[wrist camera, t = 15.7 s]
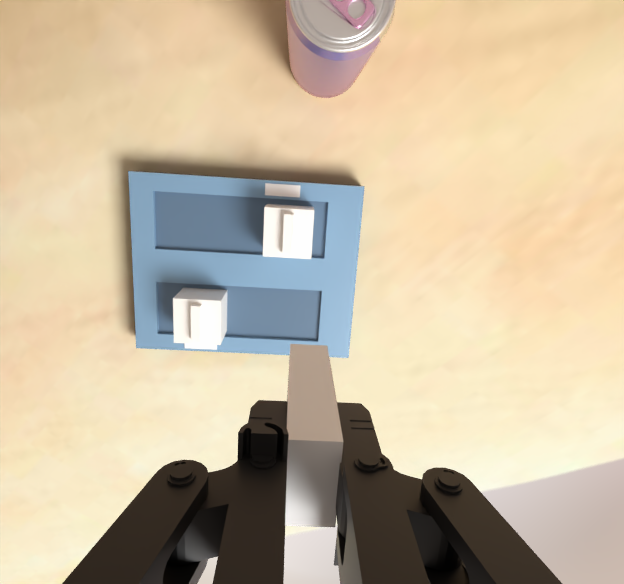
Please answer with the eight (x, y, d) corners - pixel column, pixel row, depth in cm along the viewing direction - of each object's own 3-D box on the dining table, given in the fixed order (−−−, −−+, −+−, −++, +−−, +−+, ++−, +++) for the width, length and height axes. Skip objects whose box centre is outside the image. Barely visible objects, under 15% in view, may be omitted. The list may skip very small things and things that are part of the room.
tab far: (183, 328, 41) (171, 345, 37) (183, 287, 40) (170, 300, 36) (226, 330, 42) (219, 347, 38) (227, 289, 40) (219, 302, 37)
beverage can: (326, 114, 38) (344, 80, 24) (274, 62, 37) (260, -6, 23) (375, 58, 37) (424, -12, 23) (323, 3, 36) (340, -108, 22)
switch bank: (143, 340, 43) (135, 348, 41) (136, 171, 39) (128, 171, 37) (346, 349, 44) (348, 358, 42) (361, 185, 40) (364, 186, 38)
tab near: (265, 249, 40) (262, 257, 36) (267, 203, 38) (263, 207, 35) (310, 251, 40) (311, 260, 36) (312, 206, 39) (314, 210, 35)
